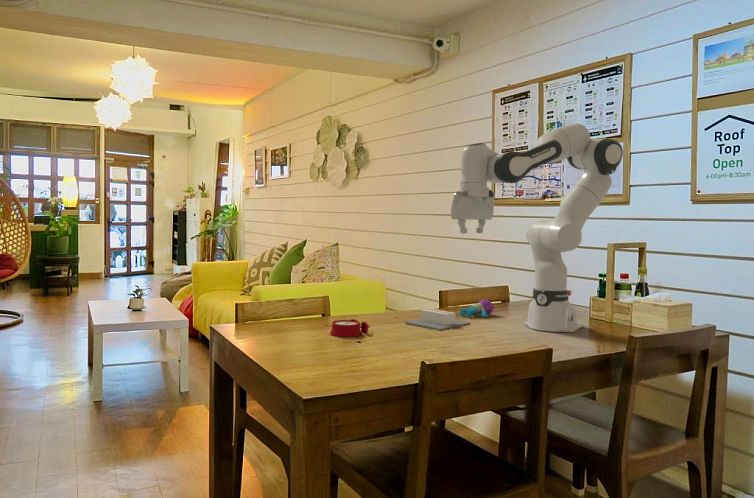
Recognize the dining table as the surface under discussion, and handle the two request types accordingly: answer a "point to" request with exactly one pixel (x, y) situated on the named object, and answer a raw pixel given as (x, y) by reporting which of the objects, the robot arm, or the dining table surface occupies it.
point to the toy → (478, 309)
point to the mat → (436, 326)
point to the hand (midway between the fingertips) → (471, 233)
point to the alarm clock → (348, 328)
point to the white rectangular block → (438, 316)
